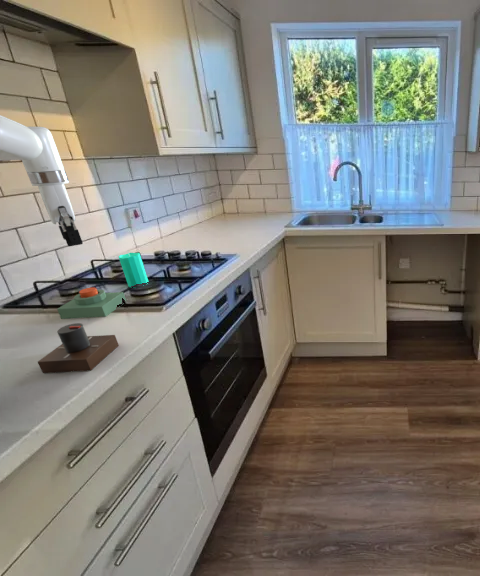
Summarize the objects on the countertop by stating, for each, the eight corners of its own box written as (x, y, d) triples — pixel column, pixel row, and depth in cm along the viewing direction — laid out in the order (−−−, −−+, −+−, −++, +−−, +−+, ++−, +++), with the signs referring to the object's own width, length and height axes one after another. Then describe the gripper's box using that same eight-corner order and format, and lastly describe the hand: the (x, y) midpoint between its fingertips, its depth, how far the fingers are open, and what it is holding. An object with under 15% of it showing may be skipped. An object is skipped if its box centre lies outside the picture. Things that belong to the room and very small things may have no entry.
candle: (152, 282, 124) (141, 249, 119) (133, 289, 119) (121, 254, 114) (143, 279, 127) (133, 246, 122) (125, 285, 122) (113, 251, 117)
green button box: (61, 319, 101) (54, 303, 99) (85, 303, 110) (80, 288, 108) (105, 316, 101) (99, 300, 99) (126, 301, 110) (121, 286, 108)
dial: (60, 353, 79) (51, 332, 77) (75, 342, 83) (66, 322, 81) (81, 352, 79) (72, 331, 77) (94, 341, 83) (86, 321, 81)
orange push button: (77, 298, 102) (75, 293, 101) (87, 293, 105) (85, 287, 105) (92, 298, 102) (90, 292, 101) (101, 292, 106) (99, 286, 105)
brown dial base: (42, 373, 78) (36, 361, 76) (76, 347, 87) (71, 336, 85) (91, 370, 78) (85, 358, 77) (119, 345, 87) (114, 334, 86)
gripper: (27, 177, 97) (52, 239, 104) (31, 182, 86) (59, 251, 93) (63, 174, 102) (85, 233, 109) (71, 179, 91) (95, 244, 98)
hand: (73, 241), depth 101 cm, fingers open, 9 cm apart
